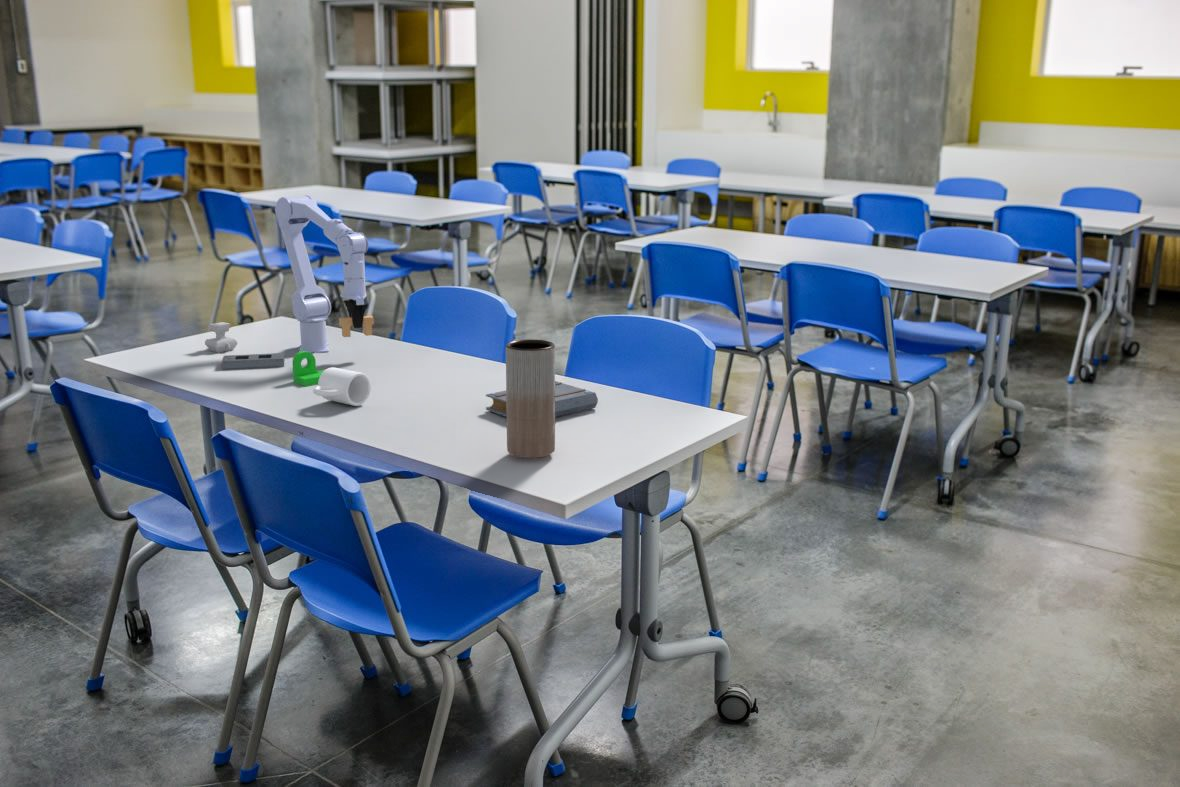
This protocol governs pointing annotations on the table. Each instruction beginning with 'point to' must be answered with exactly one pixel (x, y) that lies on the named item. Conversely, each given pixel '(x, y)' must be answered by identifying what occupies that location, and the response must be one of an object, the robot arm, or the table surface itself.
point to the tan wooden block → (347, 322)
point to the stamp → (220, 338)
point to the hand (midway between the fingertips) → (356, 326)
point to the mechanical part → (305, 369)
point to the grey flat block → (253, 361)
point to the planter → (530, 398)
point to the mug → (343, 386)
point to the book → (565, 400)
